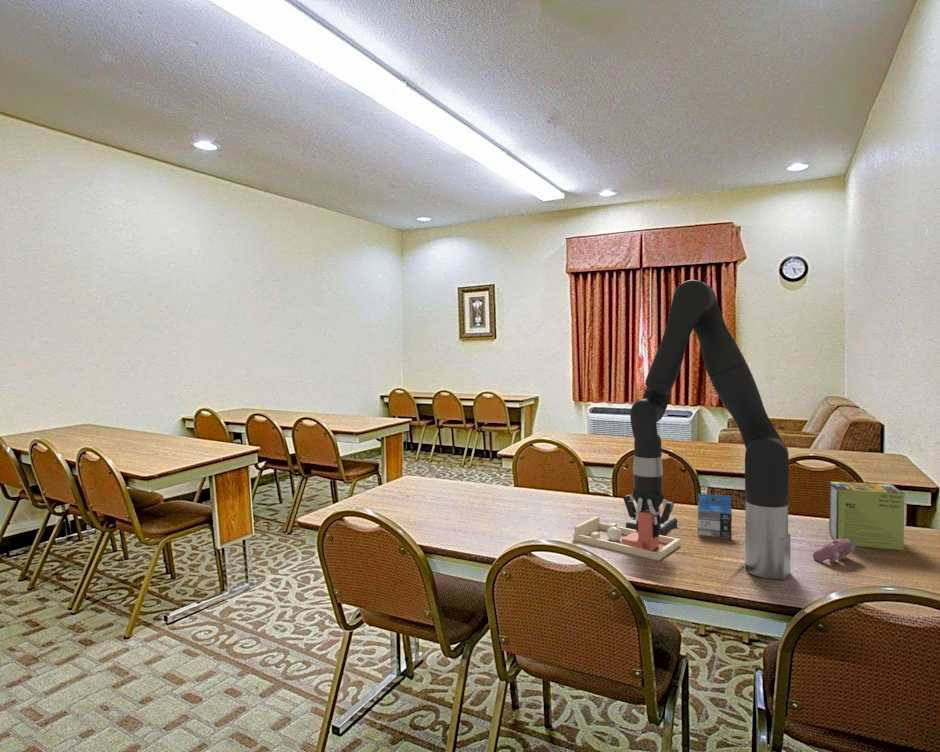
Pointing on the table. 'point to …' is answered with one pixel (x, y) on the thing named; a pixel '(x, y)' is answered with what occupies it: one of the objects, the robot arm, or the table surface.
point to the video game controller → (835, 550)
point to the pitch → (595, 525)
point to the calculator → (664, 527)
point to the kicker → (643, 533)
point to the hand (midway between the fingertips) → (648, 535)
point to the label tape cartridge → (715, 516)
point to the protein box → (867, 514)
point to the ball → (614, 533)
